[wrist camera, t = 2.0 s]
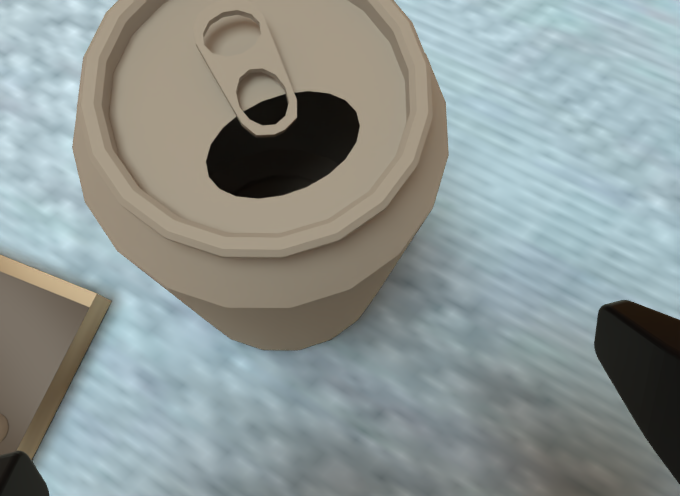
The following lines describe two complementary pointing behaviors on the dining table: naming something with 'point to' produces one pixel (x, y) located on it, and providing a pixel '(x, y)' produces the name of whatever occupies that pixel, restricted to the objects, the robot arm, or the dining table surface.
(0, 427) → the subfloor panel
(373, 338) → the dining table surface
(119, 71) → the can
